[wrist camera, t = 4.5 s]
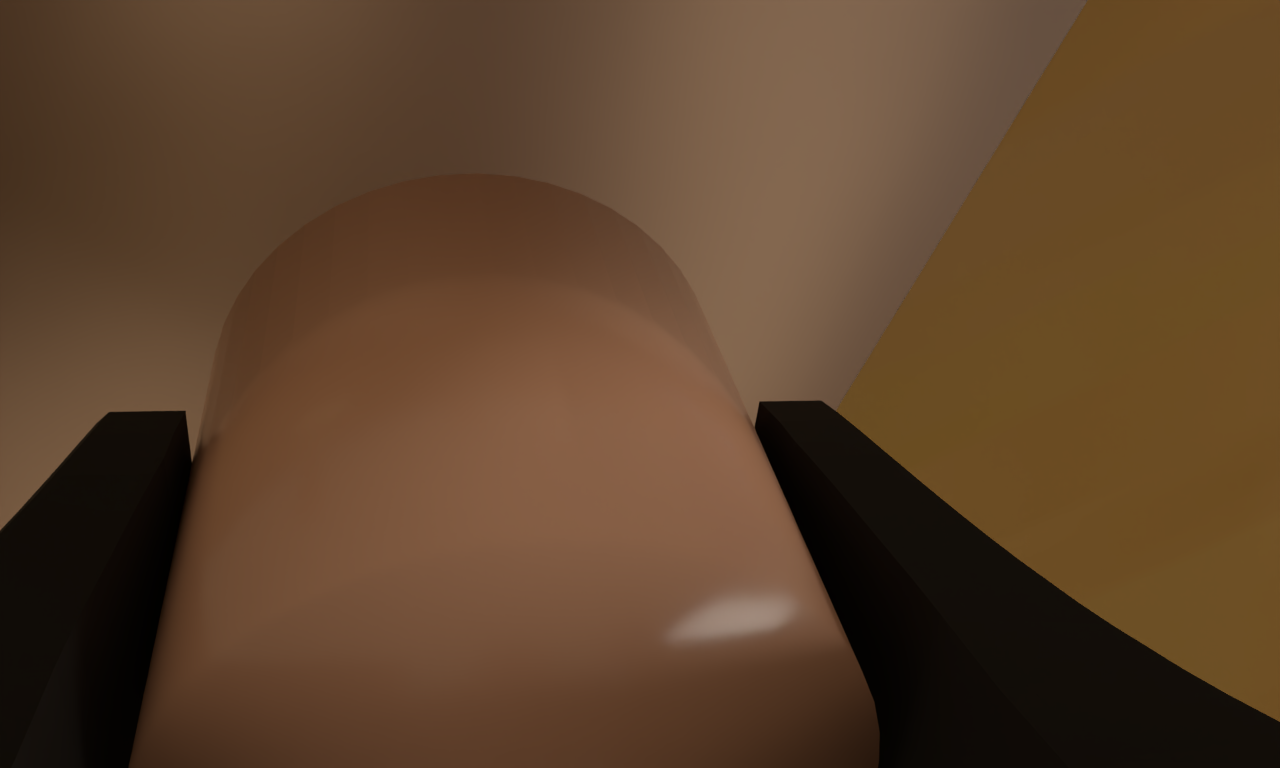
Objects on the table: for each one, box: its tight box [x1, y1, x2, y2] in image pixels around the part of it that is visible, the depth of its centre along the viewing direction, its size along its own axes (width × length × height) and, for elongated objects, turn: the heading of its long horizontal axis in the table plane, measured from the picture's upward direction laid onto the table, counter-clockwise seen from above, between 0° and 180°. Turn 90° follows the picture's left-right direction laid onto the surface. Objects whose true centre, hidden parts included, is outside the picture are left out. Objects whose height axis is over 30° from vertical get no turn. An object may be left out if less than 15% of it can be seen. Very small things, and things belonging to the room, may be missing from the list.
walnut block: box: [0, 0, 1087, 530], centre depth 17 cm, size 12×12×4 cm
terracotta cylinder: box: [128, 173, 880, 768], centre depth 10 cm, size 5×5×5 cm
